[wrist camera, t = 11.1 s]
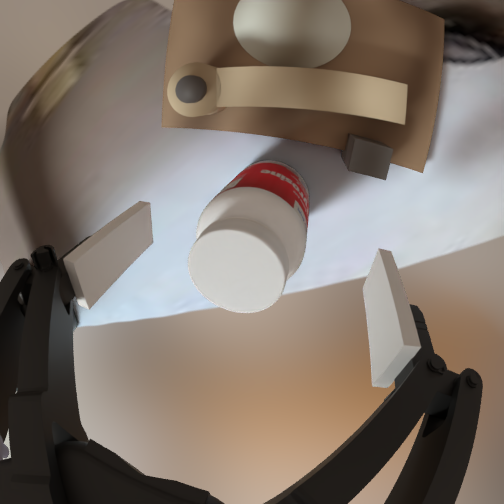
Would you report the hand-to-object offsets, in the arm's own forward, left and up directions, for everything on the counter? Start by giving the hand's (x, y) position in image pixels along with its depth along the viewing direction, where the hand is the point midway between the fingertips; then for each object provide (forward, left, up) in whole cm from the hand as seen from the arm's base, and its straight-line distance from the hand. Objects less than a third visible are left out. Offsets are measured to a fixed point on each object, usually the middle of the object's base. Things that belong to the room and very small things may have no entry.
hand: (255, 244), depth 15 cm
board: (+1, +11, -8) cm, 14 cm away
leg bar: (0, +8, -6) cm, 11 cm away
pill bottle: (0, 0, -8) cm, 8 cm away
